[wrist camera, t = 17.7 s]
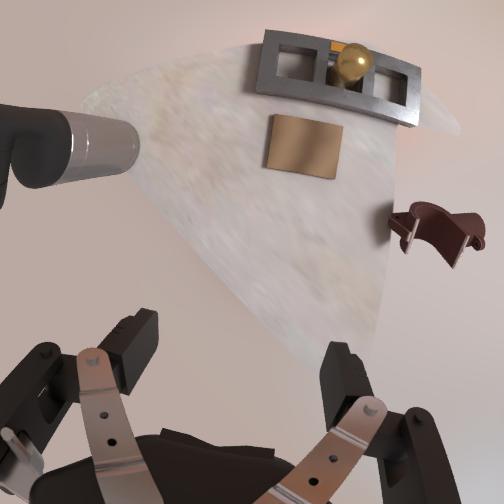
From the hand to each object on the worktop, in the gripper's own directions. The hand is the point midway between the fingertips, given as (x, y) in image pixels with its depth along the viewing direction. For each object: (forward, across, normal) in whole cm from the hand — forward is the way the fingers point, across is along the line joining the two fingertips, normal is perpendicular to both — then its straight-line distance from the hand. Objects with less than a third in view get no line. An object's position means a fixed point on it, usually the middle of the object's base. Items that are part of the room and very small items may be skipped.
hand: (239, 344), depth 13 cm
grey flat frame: (+32, -8, -23) cm, 40 cm away
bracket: (+32, -27, -3) cm, 42 cm away
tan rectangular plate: (+32, -4, -11) cm, 34 cm away
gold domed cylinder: (+32, -8, -23) cm, 40 cm away
